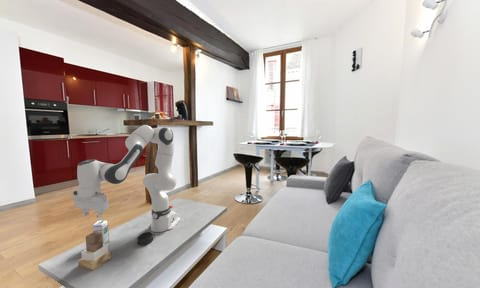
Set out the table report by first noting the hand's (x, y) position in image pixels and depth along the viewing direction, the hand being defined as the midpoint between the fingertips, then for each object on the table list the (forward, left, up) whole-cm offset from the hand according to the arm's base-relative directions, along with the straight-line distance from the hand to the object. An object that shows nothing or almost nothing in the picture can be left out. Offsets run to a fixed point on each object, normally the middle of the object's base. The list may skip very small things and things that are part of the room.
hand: (92, 216), depth 100 cm
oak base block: (0, -1, -26) cm, 26 cm away
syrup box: (-12, -12, -26) cm, 31 cm away
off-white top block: (0, -1, -22) cm, 22 cm away
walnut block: (0, -1, -18) cm, 18 cm away
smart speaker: (-23, +11, -26) cm, 36 cm away
